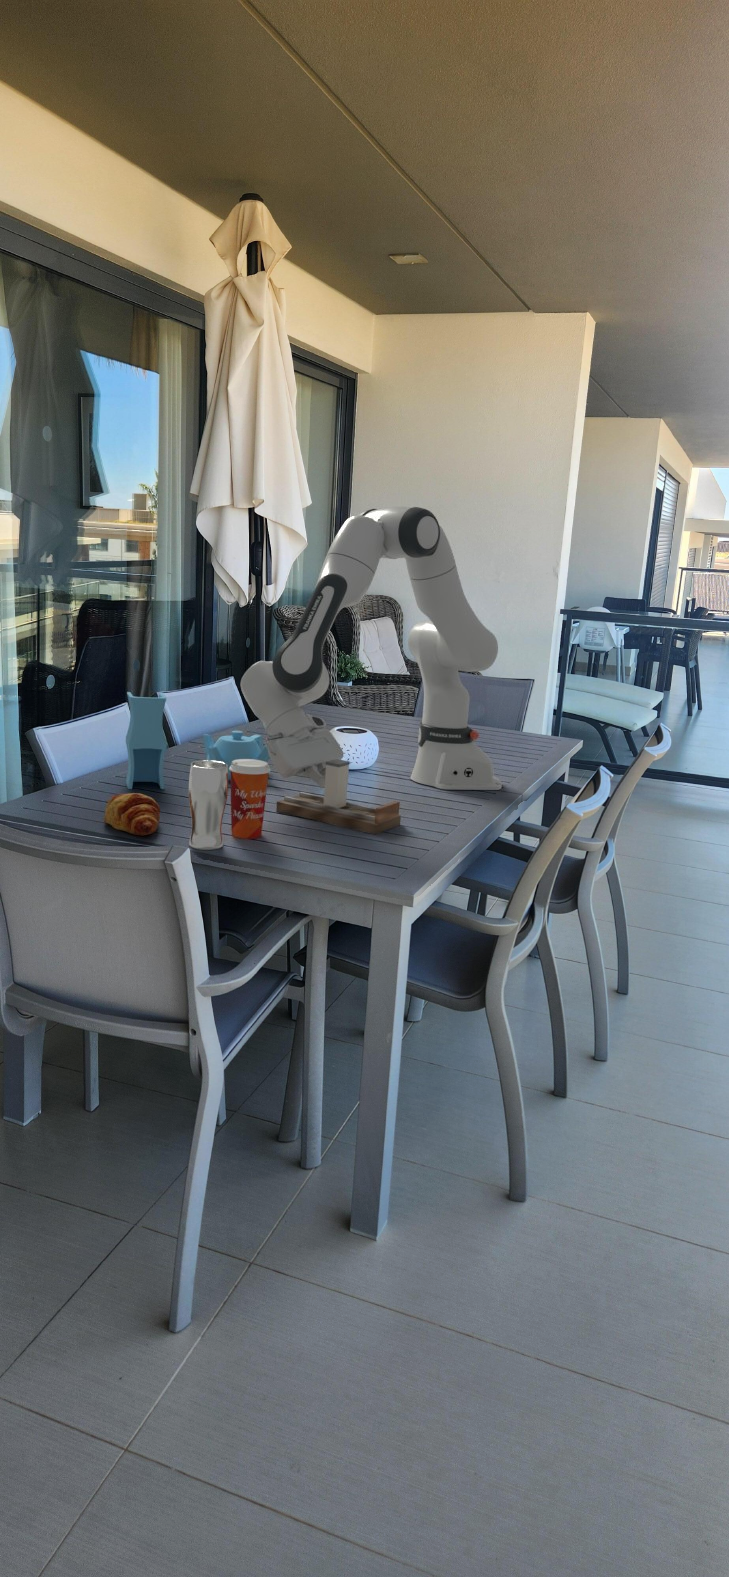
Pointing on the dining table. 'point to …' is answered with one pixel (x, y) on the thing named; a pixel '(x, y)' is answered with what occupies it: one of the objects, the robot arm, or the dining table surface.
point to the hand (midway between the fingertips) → (327, 785)
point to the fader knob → (336, 783)
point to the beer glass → (207, 803)
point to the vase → (145, 740)
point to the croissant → (133, 813)
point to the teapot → (235, 748)
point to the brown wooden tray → (342, 813)
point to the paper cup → (248, 797)
